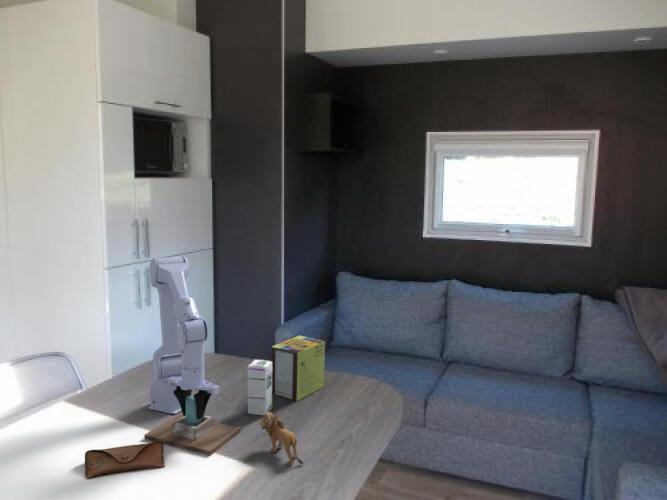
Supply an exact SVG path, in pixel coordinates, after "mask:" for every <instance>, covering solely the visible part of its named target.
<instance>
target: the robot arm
mask: <svg viewBox="0 0 667 500" xmlns="http://www.w3.org/2000/svg"><path fill="white" fill-rule="evenodd" d="M189 270H190V265H189V260H188V258H186V256H175V257H174V256H173V257H158V258H157V257H153V258H151V260H150V263H149V278H150V279H149V280H150V284H151V287H152V288H155V289H156V290H157V293H158V300H159V302H158V303H159V304H158V305H159V314H160V315H159V317H160V327H161V328H160V329H161V341H162V345H161V346H159V347H158V348H157V349H156V350H155V351H154V352H153V355H152V372H153V373H152V374H153V376H154V377H153V379H152V380H151V382H150V388H149V390H150V394H149V396H150V406H148V409H149V410H154V411H158V412H163V413H166V414H171V415H178V414H179V413H180V412H182V414H181V415H183V416H186V411H185V399H186V397H188V396H193V397H194V399H195V403H196V416H197V419H201V418H202V417H204V415H205V412H206V409H207V405H208V403H209V400H210V398H211V397H212V396H216V395H218V394H219V393H220V386H219V385H218V384H214V383H212V382H210V381H208V380H205V341H207V340H208V335H209V331H208V324H207V321H206V319H205V318H204V317H203V316H202V315H200V313H199V310H198V308H197V305H196V302H195V299H194V298H193V297H191V296H189V291H188V287H187V281H186V280H187V279H188V275H189V273H190V271H189ZM193 391H198V392H196V393H194V394H193V395H192V392H193Z"/></svg>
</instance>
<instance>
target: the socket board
mask: <svg viewBox="0 0 667 500" xmlns="http://www.w3.org/2000/svg"><path fill="white" fill-rule="evenodd" d="M241 429H242V428H241V427H239V426H234V425H231V424H230V425H229V424H227V423H226V424H225V423H221V422H218V421H215V417H214V416H209V415H205V414H204V417H202V418H201V424H199V425H198V426H196V427H195V426H190V425H186V416H183V414H181V413H177V414H175V415H174V416H173V417H171V418H170V419H168V420H166V421H164V422H163V423H161V424H160V425H158V426H156V427H155V428H153V429H151V430H150V431H147V433H145V434H144V436H143V437H144V440H145V441H150V442H156V441H162V442H163V445H167V446H170V447H173V448H178V449H182V450H186V451H191V452H194V453H198V454H202V455H206V456H213V454H214V453H216V452H217V451H218V450H220V449H221V448H222V447H224V445H226V444H227V443H229V442H230V441H231V440H233V438H235V437H236V436H237V435H239V434H240V433H241Z"/></svg>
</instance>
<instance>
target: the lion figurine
mask: <svg viewBox="0 0 667 500" xmlns="http://www.w3.org/2000/svg"><path fill="white" fill-rule="evenodd" d="M258 425H259V426H260V428H261V430H264V431H265V432H266V433H267V434H268V436H269V437H270V439H271V440H270V441H271V445H272V447H271V448H270V451H269V452H271V453H274V452H276V451H277V448H278V449H282V448H283V447H284V451H285V454H286V456H287V457H288V460H289V461H288V462H287V465H288V466H292V465H294V460H293V458H295V459H296V461H298V463H299V464H301V465H303V464H304V461H302V460H301V459H300V458H299V456H298V453H297V442H298V440H297V437H296V435H295V433H294V432H292V431H289V430H288V429H287V428H285V426H284V422H283V421H282V419H281V418H280V417H279V416H278V415H276V414H275V413H273V412H271V411H269V412H268V413H266V414H265V415H264V418H262V420H261V421H259V424H258ZM277 441H278V445H277ZM291 447H292V450H293V452H292V454H291Z"/></svg>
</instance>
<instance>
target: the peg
mask: <svg viewBox="0 0 667 500" xmlns="http://www.w3.org/2000/svg"><path fill="white" fill-rule="evenodd" d="M185 411H186V425H190V426H195V427H196V426H198V425H199V424H201V419H197V416H196V403H195V399H194V397H193V395H191V396H188V397H186V399H185Z"/></svg>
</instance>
